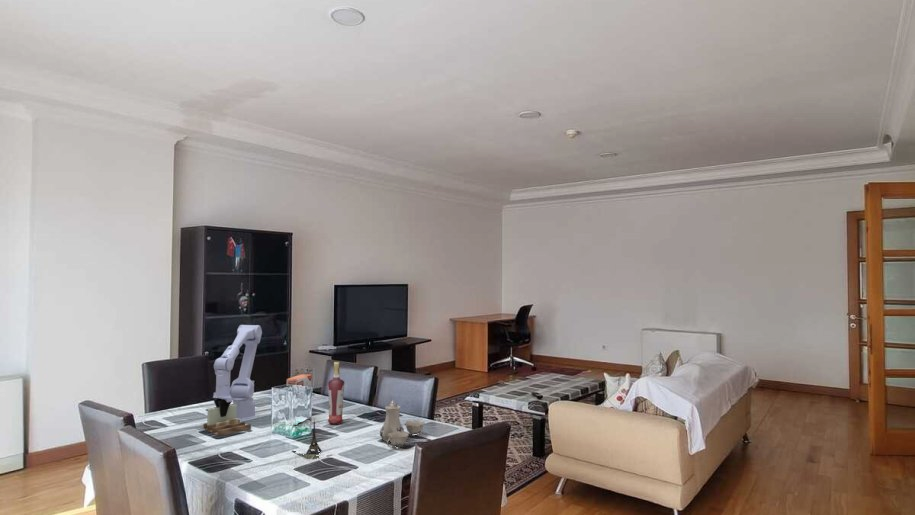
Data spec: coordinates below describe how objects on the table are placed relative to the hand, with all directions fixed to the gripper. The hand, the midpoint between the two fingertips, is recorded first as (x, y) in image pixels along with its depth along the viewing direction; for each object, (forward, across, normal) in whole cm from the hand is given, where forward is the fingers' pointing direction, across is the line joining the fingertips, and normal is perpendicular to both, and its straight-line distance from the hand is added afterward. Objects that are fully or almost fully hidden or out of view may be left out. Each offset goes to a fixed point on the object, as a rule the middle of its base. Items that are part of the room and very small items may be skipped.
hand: (222, 415), depth 235 cm
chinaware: (+6, +68, +44) cm, 82 cm away
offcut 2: (+5, +4, +3) cm, 7 cm away
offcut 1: (+4, +5, -2) cm, 7 cm away
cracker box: (+5, +15, +29) cm, 33 cm away
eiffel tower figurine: (+6, +58, +10) cm, 59 cm away
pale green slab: (+4, 0, 0) cm, 4 cm away
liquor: (+5, +29, +40) cm, 49 cm away
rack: (+5, +5, 0) cm, 7 cm away
